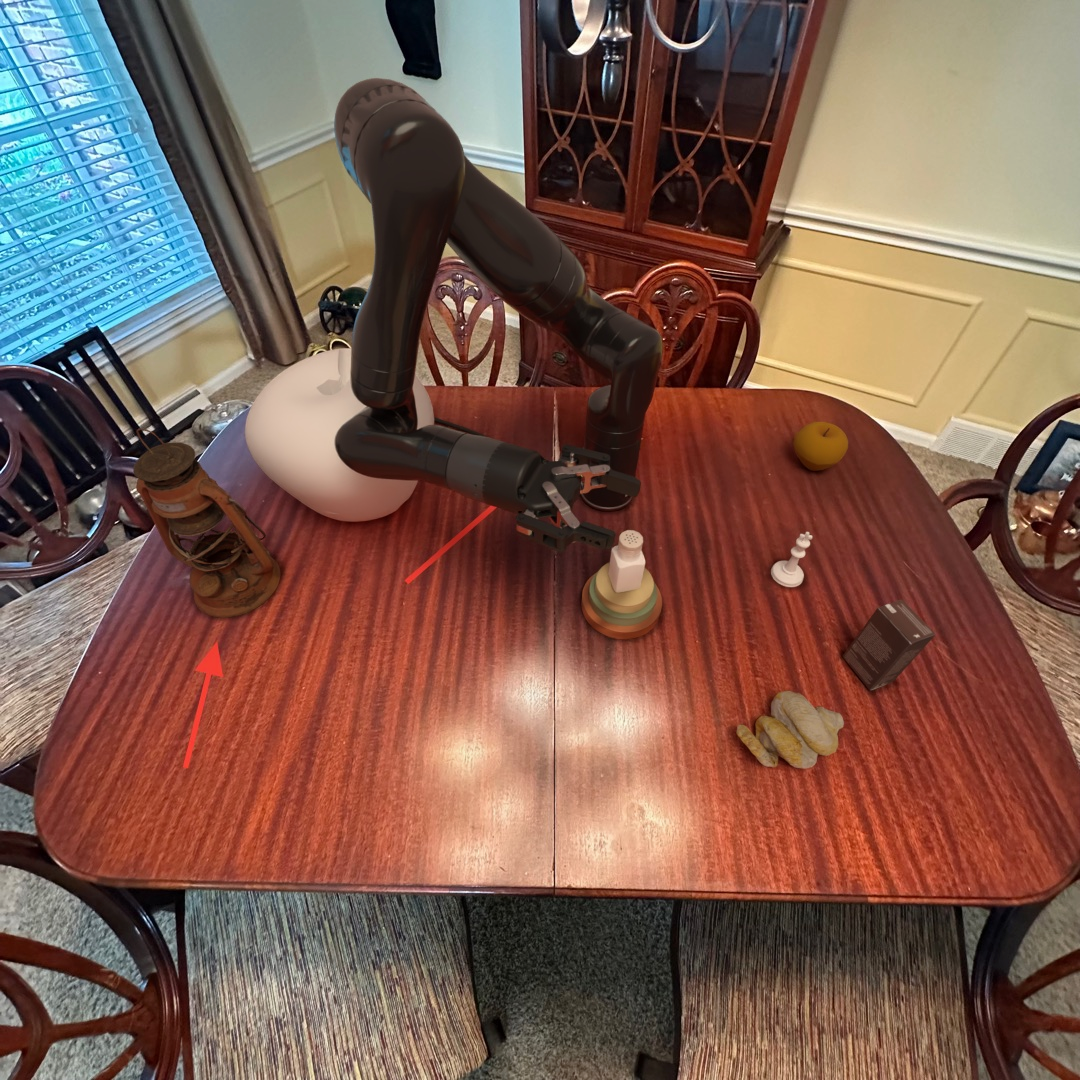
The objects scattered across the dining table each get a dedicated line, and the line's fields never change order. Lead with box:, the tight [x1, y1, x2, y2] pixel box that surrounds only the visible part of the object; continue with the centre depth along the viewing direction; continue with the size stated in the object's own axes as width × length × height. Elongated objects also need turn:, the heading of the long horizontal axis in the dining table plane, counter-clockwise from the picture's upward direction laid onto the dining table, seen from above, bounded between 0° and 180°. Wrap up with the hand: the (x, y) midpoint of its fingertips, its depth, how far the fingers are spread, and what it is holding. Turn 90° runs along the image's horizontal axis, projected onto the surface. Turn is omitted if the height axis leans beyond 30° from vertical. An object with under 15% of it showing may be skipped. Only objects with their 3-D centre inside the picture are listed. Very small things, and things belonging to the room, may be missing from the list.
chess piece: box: [770, 531, 813, 588], centre depth 92 cm, size 5×5×10 cm
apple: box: [792, 420, 849, 472], centre depth 109 cm, size 9×9×9 cm
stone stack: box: [736, 690, 845, 770], centre depth 76 cm, size 10×6×15 cm
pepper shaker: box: [608, 529, 646, 593], centre depth 84 cm, size 4×4×10 cm
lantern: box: [132, 427, 281, 619], centre depth 83 cm, size 17×13×30 cm
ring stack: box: [580, 561, 663, 640], centre depth 89 cm, size 12×12×6 cm
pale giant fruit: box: [244, 347, 435, 523], centre depth 98 cm, size 28×27×25 cm
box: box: [842, 599, 937, 691], centre depth 80 cm, size 6×4×12 cm
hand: (627, 513), depth 66 cm, fingers open, 8 cm apart
